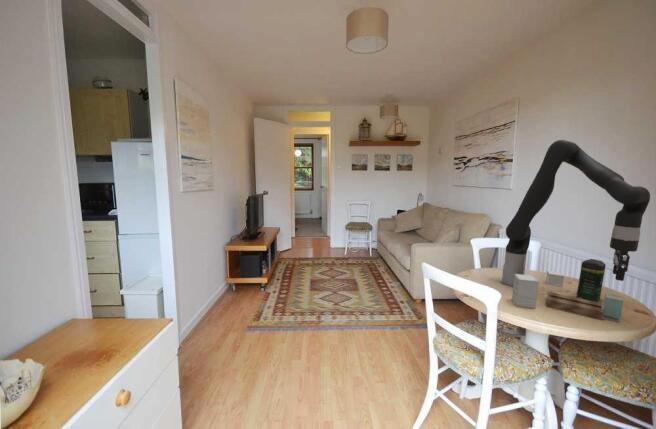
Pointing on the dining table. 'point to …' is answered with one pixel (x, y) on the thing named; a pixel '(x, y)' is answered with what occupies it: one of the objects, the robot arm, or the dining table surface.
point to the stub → (613, 306)
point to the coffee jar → (591, 279)
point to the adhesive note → (554, 278)
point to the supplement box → (525, 290)
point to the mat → (611, 318)
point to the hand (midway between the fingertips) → (617, 277)
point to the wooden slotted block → (575, 305)
